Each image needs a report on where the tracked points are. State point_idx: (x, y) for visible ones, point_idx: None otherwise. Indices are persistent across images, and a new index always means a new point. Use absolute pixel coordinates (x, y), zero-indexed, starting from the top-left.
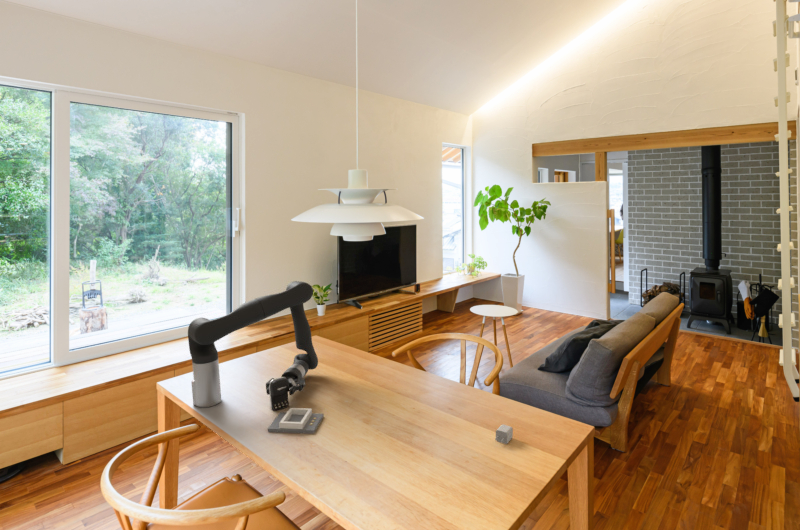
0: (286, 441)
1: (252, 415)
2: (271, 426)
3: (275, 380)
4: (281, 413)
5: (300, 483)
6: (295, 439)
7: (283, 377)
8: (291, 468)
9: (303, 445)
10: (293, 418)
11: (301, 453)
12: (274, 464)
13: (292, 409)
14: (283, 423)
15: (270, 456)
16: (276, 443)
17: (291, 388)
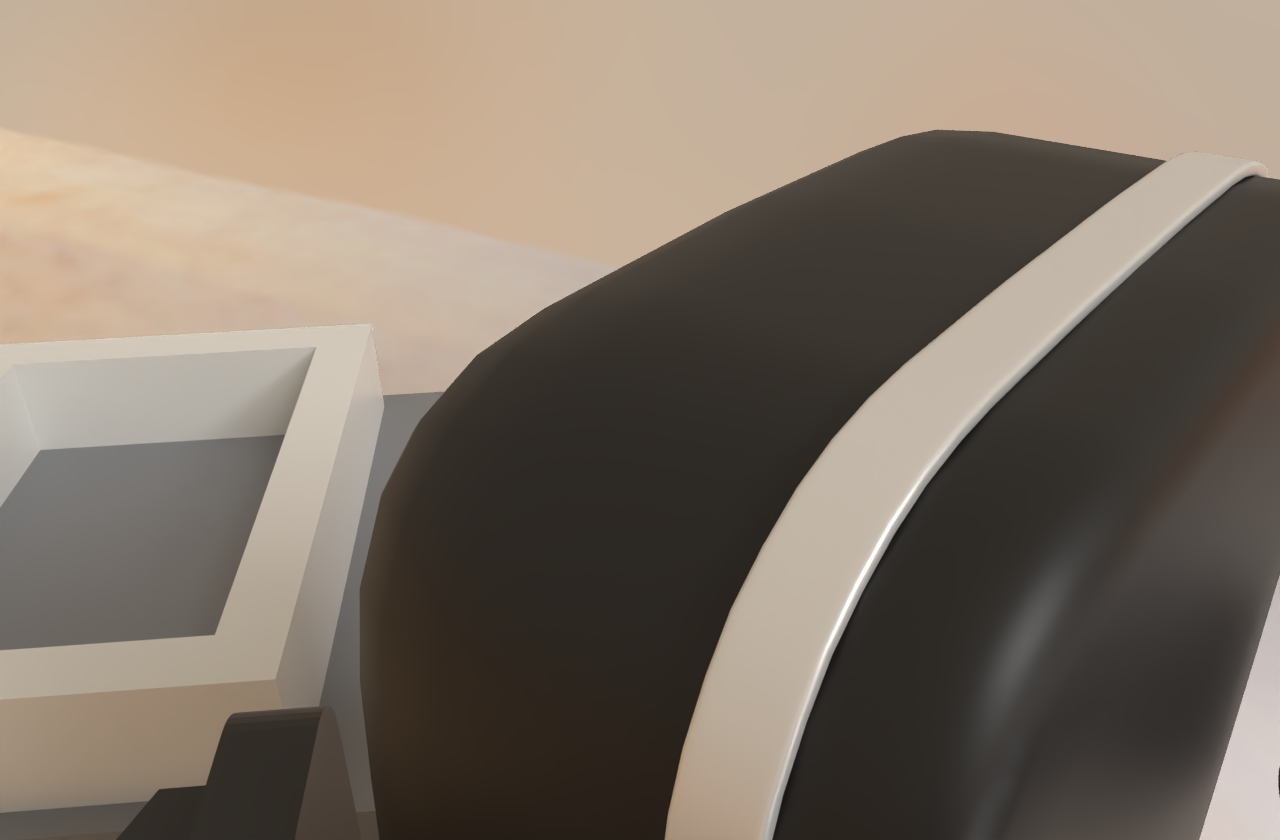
0: None
1: (1253, 747)
2: None
3: (1029, 157)
4: None
5: (62, 143)
6: None
7: (849, 429)
8: (138, 189)
9: (24, 333)
10: (191, 618)
11: (51, 272)
12: (289, 194)
13: (206, 642)
14: (301, 336)
15: (355, 229)
16: (355, 322)
17: (227, 835)
